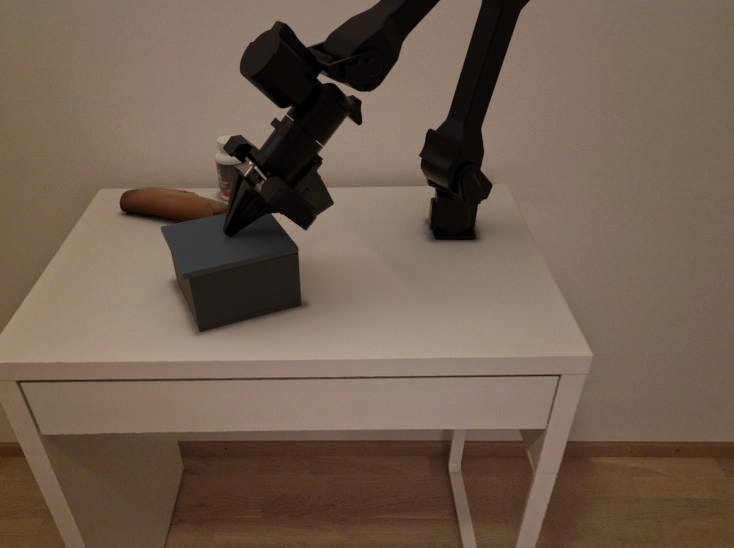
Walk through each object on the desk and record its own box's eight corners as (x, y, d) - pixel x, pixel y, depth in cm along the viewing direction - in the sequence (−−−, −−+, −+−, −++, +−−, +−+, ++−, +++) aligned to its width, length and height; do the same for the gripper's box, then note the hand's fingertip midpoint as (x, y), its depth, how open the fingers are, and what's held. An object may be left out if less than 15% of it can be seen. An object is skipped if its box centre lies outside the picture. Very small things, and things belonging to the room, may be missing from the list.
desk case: (199, 332, 73) (188, 278, 68) (177, 281, 82) (166, 231, 77) (301, 305, 77) (298, 253, 72) (269, 260, 86) (265, 210, 81)
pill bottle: (214, 196, 103) (205, 139, 96) (237, 186, 106) (230, 130, 100) (235, 205, 100) (227, 147, 94) (258, 194, 103) (252, 137, 97)
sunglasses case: (241, 207, 98) (227, 182, 92) (226, 243, 96) (210, 220, 90) (150, 191, 103) (130, 167, 97) (134, 226, 101) (112, 203, 95)
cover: (183, 279, 68) (182, 273, 67) (161, 232, 77) (160, 226, 76) (298, 252, 72) (298, 246, 72) (265, 210, 81) (264, 204, 81)
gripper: (381, 198, 69) (298, 299, 73) (319, 145, 82) (251, 233, 86) (317, 141, 61) (228, 257, 65) (260, 92, 74) (188, 191, 78)
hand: (226, 234), depth 74 cm, fingers closed
